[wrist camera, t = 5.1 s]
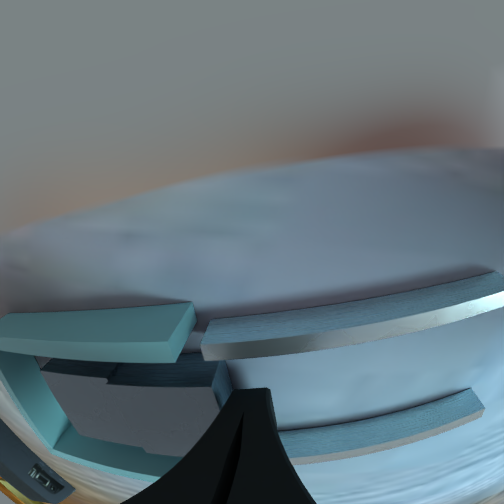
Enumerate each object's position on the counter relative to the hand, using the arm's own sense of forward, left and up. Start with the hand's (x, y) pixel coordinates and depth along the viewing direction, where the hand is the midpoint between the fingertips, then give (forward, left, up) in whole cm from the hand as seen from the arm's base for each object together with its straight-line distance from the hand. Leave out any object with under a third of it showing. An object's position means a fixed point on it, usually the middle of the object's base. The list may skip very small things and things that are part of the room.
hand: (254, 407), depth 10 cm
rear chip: (+7, 0, -1) cm, 7 cm away
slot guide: (-5, 0, -1) cm, 5 cm away
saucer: (+43, +29, -2) cm, 52 cm away
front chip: (+3, 0, -1) cm, 3 cm away
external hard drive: (+29, +10, -2) cm, 31 cm away
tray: (+6, 0, -1) cm, 7 cm away
